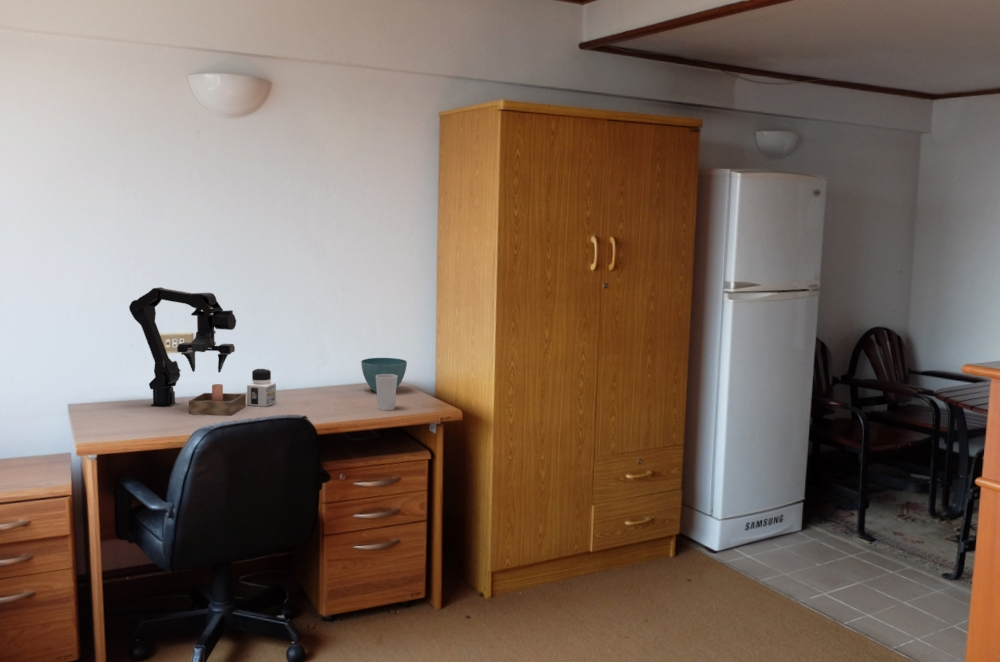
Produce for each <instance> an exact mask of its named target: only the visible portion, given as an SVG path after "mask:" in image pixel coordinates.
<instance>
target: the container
mask: <svg viewBox="0 0 1000 662" xmlns="http://www.w3.org/2000/svg"><path fill="white" fill-rule="evenodd" d="M251 372H252V373H251V378H252V379H251V381H252V383H249V384H247V385H246V391H247V392H246V393H247V394H246V399H247V400H246V402H247V403H246V406H249V407H250V406H252V407H253V406H254V407H265V408H267V407H268V406H269V407H270V406H271V405H274V404H275V403H276V402H277V395H276V394H277V383H276V382H273V381H272V377H271V376H272V374H271V373H272V371H271V370H270V369H268V368H255V369H254V370H252V371H251Z"/></svg>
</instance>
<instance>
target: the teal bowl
mask: <svg viewBox="0 0 1000 662" xmlns="http://www.w3.org/2000/svg"><path fill="white" fill-rule="evenodd" d="M407 364H408V361H407V360H405V359H402V358H396V357H373V358H372V357H370V358H365V359H362V360H361V362H360V365H361V370H362V374H363V377H364V379H365V382H366V383H367V385H368V386H369V388H370V389H371V390H372V391H373V392H375V393H377V389H376V375H380V374H393V375H397V376H398V377H397V387H396V389H397V388H398V387H399V385H400V384H401V383H402V381H403V379H404V377H405V373H406V371H407V366H408V365H407Z"/></svg>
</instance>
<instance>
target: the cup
mask: <svg viewBox="0 0 1000 662" xmlns="http://www.w3.org/2000/svg"><path fill="white" fill-rule="evenodd" d="M397 377H398V376H397V375H393V374H380V375H376V389H377V392H376V399H377V409H378V410H380V409H381V411H392V410H395V409H396V396H397V388H398V387H397ZM396 387H397V388H396Z"/></svg>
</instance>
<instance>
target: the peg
mask: <svg viewBox="0 0 1000 662" xmlns="http://www.w3.org/2000/svg"><path fill="white" fill-rule="evenodd" d="M211 393H212V401H214V402H223V393H224V385H223V384H221V383H220V384H219V383H215V384H212V385H211Z"/></svg>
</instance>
